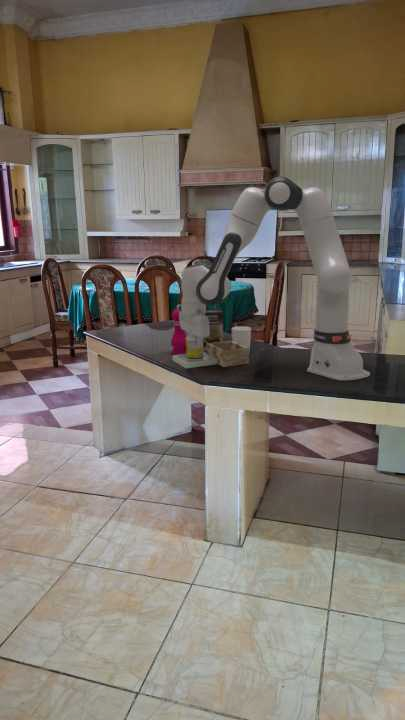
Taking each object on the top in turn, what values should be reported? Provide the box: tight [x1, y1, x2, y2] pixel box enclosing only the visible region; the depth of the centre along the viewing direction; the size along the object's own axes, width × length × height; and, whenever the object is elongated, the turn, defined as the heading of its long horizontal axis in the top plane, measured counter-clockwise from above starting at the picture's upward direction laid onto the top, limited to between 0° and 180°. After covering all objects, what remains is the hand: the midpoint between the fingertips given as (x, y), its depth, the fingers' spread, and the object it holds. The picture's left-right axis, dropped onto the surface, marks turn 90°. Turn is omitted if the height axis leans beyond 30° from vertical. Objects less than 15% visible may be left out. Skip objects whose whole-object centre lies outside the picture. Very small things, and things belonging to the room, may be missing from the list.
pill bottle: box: [186, 329, 205, 361], centre depth 203 cm, size 6×6×12 cm
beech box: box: [206, 340, 250, 368], centre depth 205 cm, size 15×11×6 cm
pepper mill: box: [170, 304, 187, 355], centre depth 217 cm, size 7×7×20 cm
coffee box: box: [203, 309, 224, 351], centre depth 224 cm, size 9×6×16 cm
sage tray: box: [172, 352, 219, 369], centre depth 205 cm, size 13×13×2 cm
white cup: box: [231, 326, 252, 353], centre depth 218 cm, size 8×8×10 cm
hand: (194, 344), depth 203 cm, fingers closed on pill bottle, 6 cm apart
